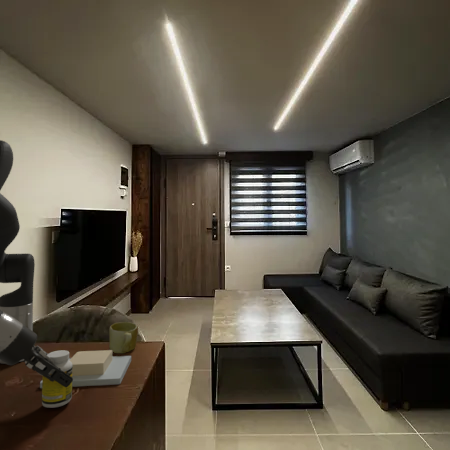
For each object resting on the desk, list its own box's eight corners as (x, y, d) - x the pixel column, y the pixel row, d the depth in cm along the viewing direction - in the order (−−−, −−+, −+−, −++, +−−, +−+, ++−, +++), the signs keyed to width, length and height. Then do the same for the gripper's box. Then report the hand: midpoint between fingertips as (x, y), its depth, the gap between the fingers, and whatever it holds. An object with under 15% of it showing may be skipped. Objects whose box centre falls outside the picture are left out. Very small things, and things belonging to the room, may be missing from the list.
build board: (39, 388, 83) (40, 370, 83) (64, 363, 99) (64, 348, 99) (120, 384, 85) (120, 366, 85) (131, 360, 101) (131, 345, 101)
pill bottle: (71, 405, 73) (71, 356, 74) (39, 411, 71) (40, 360, 71) (72, 393, 79) (73, 347, 79) (44, 397, 77) (45, 350, 77)
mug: (103, 340, 114) (112, 314, 114) (132, 346, 118) (141, 321, 117) (101, 360, 103) (111, 331, 102) (132, 365, 106) (143, 337, 106)
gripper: (27, 330, 65) (87, 373, 73) (15, 316, 76) (69, 355, 84) (-6, 364, 62) (61, 405, 69) (-13, 344, 73) (45, 382, 80)
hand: (65, 377), depth 76 cm, fingers closed on pill bottle, 6 cm apart
